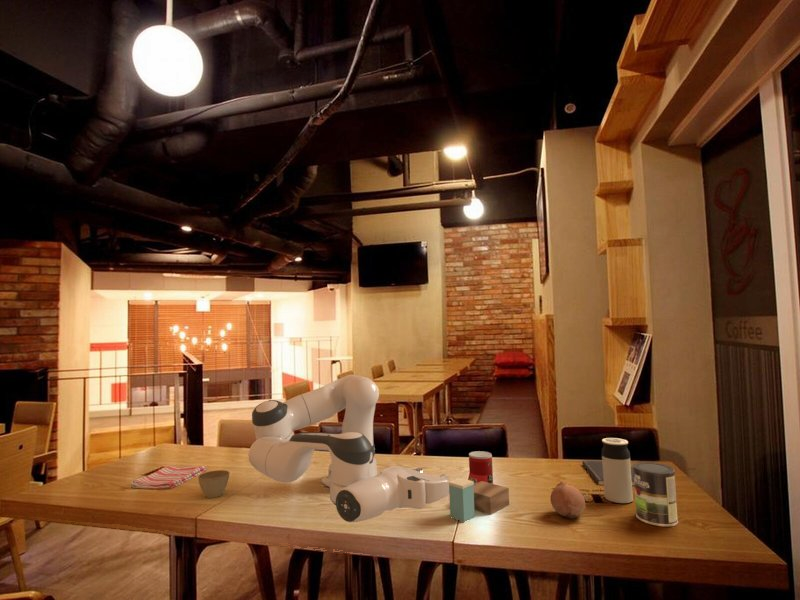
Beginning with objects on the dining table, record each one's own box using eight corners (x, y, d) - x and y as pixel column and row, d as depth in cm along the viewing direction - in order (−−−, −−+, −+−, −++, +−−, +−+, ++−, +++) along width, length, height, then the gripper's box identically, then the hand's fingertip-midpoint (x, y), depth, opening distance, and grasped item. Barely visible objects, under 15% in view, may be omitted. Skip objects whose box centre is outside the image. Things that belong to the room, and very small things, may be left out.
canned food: (493, 490, 148) (491, 457, 149) (469, 489, 150) (468, 456, 151) (493, 483, 156) (491, 451, 157) (470, 482, 158) (469, 450, 158)
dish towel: (128, 490, 161) (128, 480, 162) (170, 470, 184) (170, 462, 185) (171, 491, 159) (171, 481, 159) (208, 471, 182) (208, 462, 182)
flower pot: (235, 491, 155) (235, 470, 156) (215, 502, 146) (215, 480, 146) (212, 489, 158) (212, 468, 159) (191, 499, 149) (191, 477, 149)
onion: (559, 521, 130) (549, 485, 135) (592, 516, 127) (580, 479, 132) (553, 521, 122) (543, 483, 128) (587, 516, 119) (576, 477, 124)
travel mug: (605, 502, 135) (602, 442, 137) (603, 493, 143) (600, 437, 144) (634, 505, 133) (630, 444, 134) (631, 496, 140) (627, 438, 142)
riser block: (463, 505, 136) (462, 489, 137) (482, 496, 143) (481, 481, 144) (490, 514, 129) (490, 497, 129) (509, 504, 136) (508, 488, 136)
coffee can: (651, 528, 117) (647, 474, 118) (628, 512, 128) (625, 462, 129) (687, 525, 118) (683, 471, 119) (662, 510, 129) (658, 461, 130)
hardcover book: (625, 467, 171) (625, 461, 171) (648, 488, 148) (647, 481, 148) (582, 466, 174) (582, 460, 174) (598, 486, 151) (597, 479, 151)
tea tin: (449, 517, 128) (448, 482, 129) (460, 512, 131) (459, 477, 132) (464, 522, 124) (462, 486, 125) (475, 517, 128) (473, 481, 128)
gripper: (370, 491, 118) (406, 477, 127) (426, 511, 103) (463, 494, 113) (369, 466, 118) (405, 455, 128) (425, 483, 104) (461, 469, 113)
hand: (433, 474), depth 120 cm, fingers open, 8 cm apart
